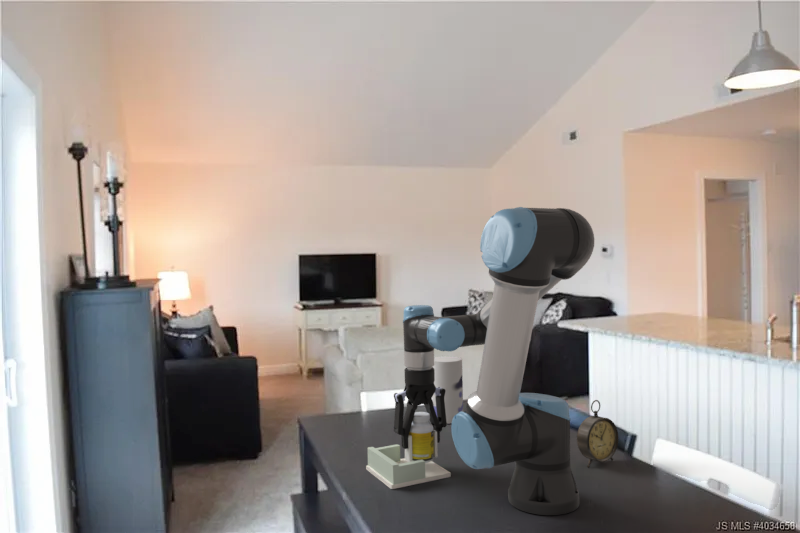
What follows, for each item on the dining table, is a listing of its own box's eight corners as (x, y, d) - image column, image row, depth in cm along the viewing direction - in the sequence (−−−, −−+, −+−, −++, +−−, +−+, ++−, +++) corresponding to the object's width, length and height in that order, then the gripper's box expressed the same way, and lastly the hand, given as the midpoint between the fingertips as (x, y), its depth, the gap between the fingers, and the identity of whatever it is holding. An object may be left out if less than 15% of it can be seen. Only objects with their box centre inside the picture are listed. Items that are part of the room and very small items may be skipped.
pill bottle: (431, 465, 152) (431, 418, 151) (405, 463, 153) (405, 417, 152) (435, 455, 158) (435, 411, 157) (410, 454, 159) (410, 410, 159)
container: (464, 423, 195) (463, 360, 195) (433, 424, 196) (431, 361, 195) (462, 415, 205) (460, 355, 205) (431, 415, 206) (430, 356, 205)
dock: (450, 476, 150) (450, 454, 150) (391, 489, 143) (390, 465, 143) (421, 458, 164) (421, 438, 164) (366, 469, 157) (365, 447, 157)
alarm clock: (589, 470, 152) (588, 405, 152) (573, 464, 157) (572, 400, 157) (620, 462, 158) (619, 399, 157) (603, 456, 162) (602, 395, 162)
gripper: (445, 360, 162) (447, 447, 163) (377, 368, 154) (379, 460, 154) (460, 365, 156) (462, 456, 156) (390, 374, 147) (392, 469, 148)
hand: (421, 458), depth 155 cm, fingers closed on pill bottle, 6 cm apart
